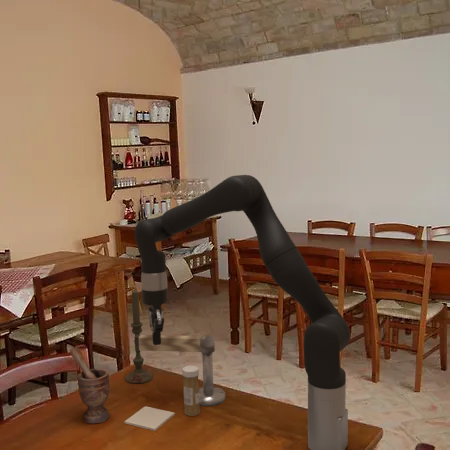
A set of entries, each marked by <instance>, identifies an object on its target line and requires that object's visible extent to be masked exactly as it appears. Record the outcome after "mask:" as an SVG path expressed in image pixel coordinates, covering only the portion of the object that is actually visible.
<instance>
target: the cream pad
mask: <svg viewBox="0 0 450 450" xmlns="http://www.w3.org/2000/svg"><path fill="white" fill-rule="evenodd" d="M175 414H176V413H175V412H173V411H168V410H164V409H159V408H156V407H155V408H154V407H151V406H150V407H149V406H146V405H145V406H144V407H142V408H141V409H139V410H138V411H136V412H135V413H134V414H133V415H131V416H130V417H128V418H127V419H126V420H124V424H125V425H130V426H134V427H138V428H140V429H141V428H142V429H146V430H149V431H154V432H156V431H157V430H158V429H159V428H161V427H162V426H164V424H165V423H166V422H168V421H169V420H170V419H171V418H173V417H174V416H175Z"/></svg>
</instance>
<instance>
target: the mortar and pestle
mask: <svg viewBox="0 0 450 450" xmlns="http://www.w3.org/2000/svg"><path fill="white" fill-rule="evenodd" d="M69 352H70V356H71V357H72V358H73V360H74V362H75V363H76V365H78V367H79V368H80V370H81V372H79V373H78V374H77V376H76V377H77V384H78V393H79V396H80V400H81V402H82V404H84V406H86V410H85V411H84V413H83V414H82V415H83V416H82V421H83V422H84V423H87V424H98V423H105V422H106V421H107V420H108V419H109V418H110V412H109V410H108V409H107V408H106V407H105V406H104V405H105V403H106V402H107V401H108V399H109V393H110V373H109V371H108V370H107V369H106V368H89V366H88V364H87V362H86V359H85V357H84V355H83V353H82V350H81V349H80V347H78V346H74V347H73V348H71V349H70V350H69Z"/></svg>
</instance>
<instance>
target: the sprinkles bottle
mask: <svg viewBox="0 0 450 450" xmlns="http://www.w3.org/2000/svg"><path fill="white" fill-rule="evenodd" d="M199 371H200V370H199V366H196V365H186V366H184V367H183V368H182V377H183V378H182V379H183V402H184V403H183V404H184V414H185V415H186V416H188V417H194V416H198V415H199V414H200V413H201V409H200V405H199V388H200V386H199V385H200V384H199V374H200V373H199Z"/></svg>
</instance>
